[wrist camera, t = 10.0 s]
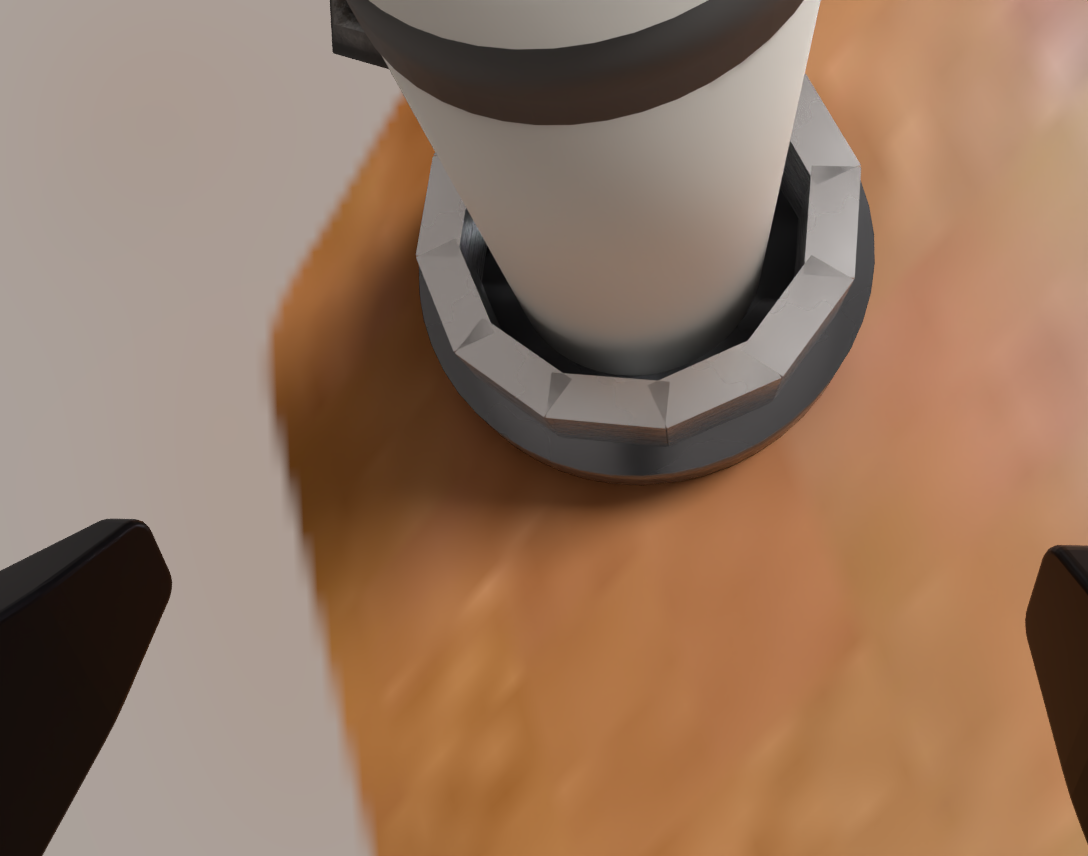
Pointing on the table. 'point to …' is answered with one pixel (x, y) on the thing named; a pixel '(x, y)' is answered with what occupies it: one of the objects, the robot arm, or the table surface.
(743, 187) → the white domed cylinder
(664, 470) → the mount
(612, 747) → the table surface
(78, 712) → the robot arm
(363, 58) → the figurine
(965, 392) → the table surface
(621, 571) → the table surface
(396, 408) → the table surface
